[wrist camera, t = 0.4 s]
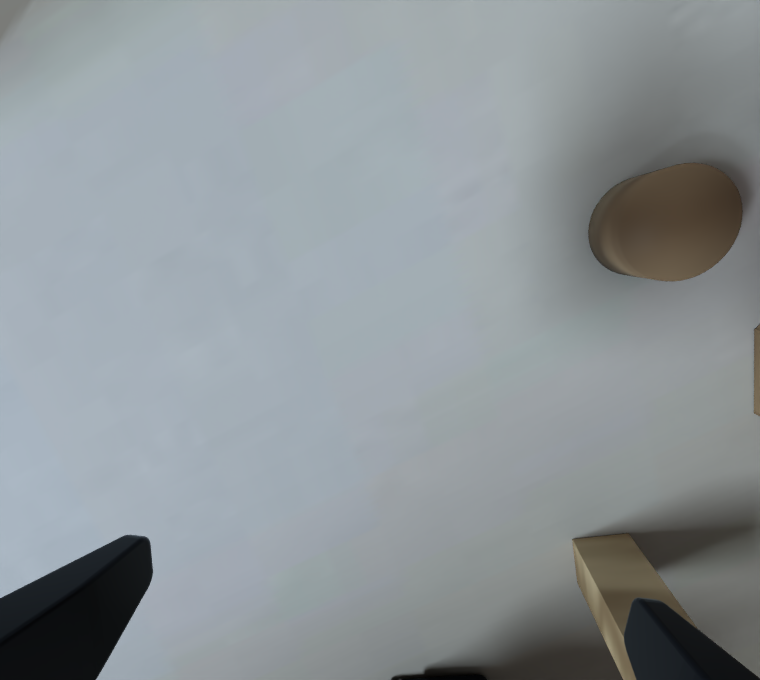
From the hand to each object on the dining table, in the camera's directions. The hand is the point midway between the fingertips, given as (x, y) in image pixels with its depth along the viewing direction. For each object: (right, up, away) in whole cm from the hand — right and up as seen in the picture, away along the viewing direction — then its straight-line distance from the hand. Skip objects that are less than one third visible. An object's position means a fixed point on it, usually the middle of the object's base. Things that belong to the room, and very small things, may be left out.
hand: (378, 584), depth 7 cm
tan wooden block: (+13, -8, +15) cm, 21 cm away
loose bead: (+12, +10, +11) cm, 19 cm away
